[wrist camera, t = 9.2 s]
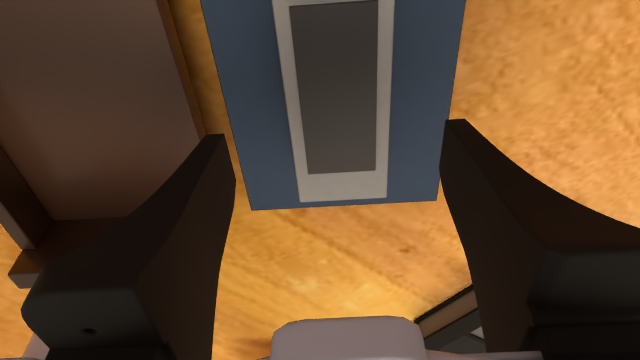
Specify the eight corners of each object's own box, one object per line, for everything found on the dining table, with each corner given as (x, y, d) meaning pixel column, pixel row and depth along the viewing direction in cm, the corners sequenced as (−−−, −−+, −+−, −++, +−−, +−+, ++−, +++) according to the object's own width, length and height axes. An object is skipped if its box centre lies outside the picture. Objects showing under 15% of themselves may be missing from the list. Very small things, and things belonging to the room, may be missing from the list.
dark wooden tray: (232, 195, 27) (215, 280, 22) (67, 204, 27) (19, 289, 23) (98, -290, 13) (-9, -318, 9) (-223, -258, 14) (-477, -270, 9)
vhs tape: (411, 321, 36) (415, 345, 35) (570, 224, 29) (584, 248, 27) (473, 348, 39) (480, 371, 38) (632, 266, 32) (648, 291, 30)
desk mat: (435, 196, 27) (436, 200, 27) (252, 206, 27) (251, 210, 27) (503, -281, 14) (507, -283, 13) (142, -247, 14) (139, -247, 14)
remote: (381, 164, 25) (387, 200, 23) (300, 169, 25) (299, 205, 23) (390, -150, 15) (401, -136, 13) (261, -139, 16) (253, -124, 14)
